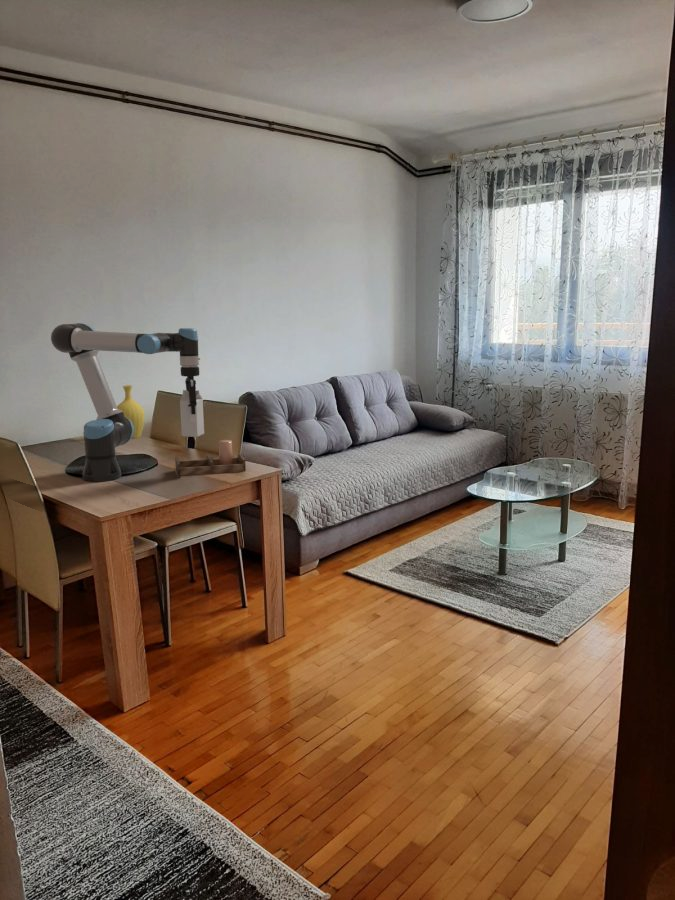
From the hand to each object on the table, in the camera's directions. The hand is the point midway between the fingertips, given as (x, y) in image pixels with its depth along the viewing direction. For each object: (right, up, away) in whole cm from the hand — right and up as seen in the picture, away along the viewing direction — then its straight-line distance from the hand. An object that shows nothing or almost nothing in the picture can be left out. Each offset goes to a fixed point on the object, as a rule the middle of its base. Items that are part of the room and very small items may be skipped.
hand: (192, 419), depth 276 cm
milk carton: (0, -7, +1) cm, 7 cm away
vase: (-52, -6, +84) cm, 99 cm away
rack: (+6, -22, +7) cm, 24 cm away
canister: (+13, -20, +9) cm, 26 cm away
